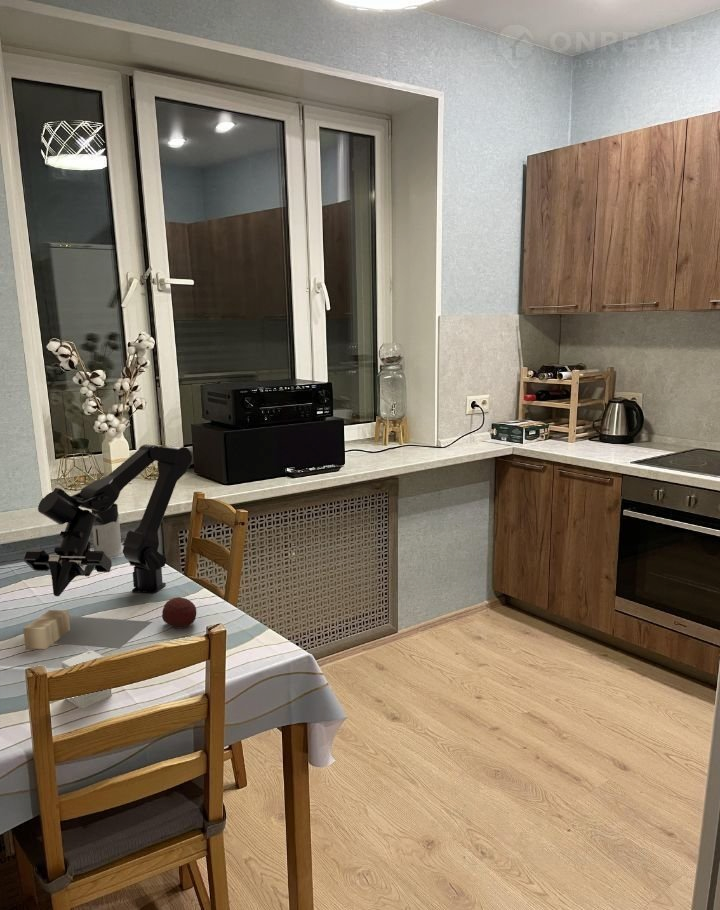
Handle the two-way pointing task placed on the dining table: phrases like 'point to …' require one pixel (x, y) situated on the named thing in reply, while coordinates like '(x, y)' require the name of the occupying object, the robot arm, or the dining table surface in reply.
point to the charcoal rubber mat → (101, 631)
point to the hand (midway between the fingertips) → (56, 595)
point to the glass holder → (108, 532)
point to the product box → (89, 698)
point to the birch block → (46, 629)
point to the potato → (179, 612)
